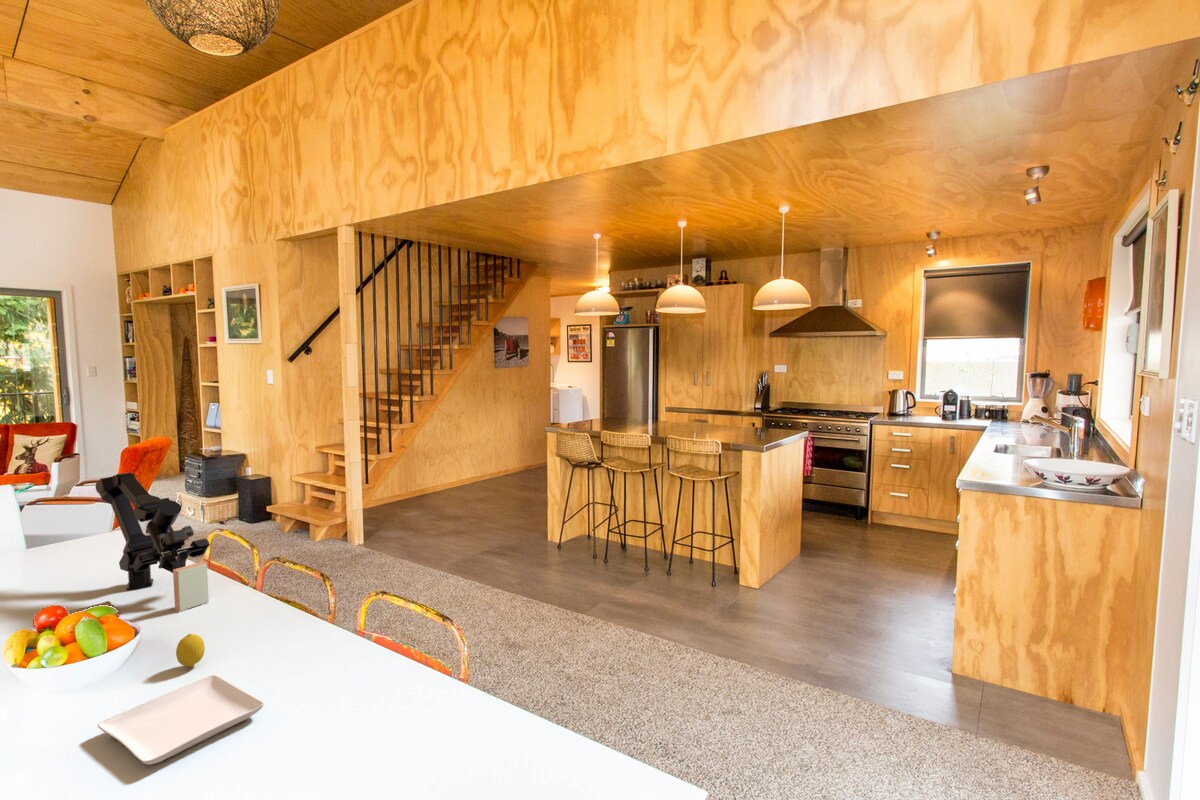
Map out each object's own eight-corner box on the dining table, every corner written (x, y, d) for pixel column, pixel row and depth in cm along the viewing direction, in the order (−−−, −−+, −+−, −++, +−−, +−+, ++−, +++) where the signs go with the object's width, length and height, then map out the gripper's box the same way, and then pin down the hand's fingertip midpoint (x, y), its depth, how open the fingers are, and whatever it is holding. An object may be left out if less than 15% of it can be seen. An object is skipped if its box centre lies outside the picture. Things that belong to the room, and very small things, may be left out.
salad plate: (145, 780, 104) (144, 761, 104) (95, 739, 116) (94, 721, 115) (267, 718, 122) (267, 701, 122) (214, 688, 134) (213, 673, 133)
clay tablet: (121, 616, 171) (120, 607, 171) (75, 630, 163) (74, 620, 163) (103, 605, 179) (103, 596, 179) (59, 617, 171) (58, 607, 171)
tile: (175, 610, 174) (173, 569, 173) (204, 600, 181) (202, 561, 180) (179, 612, 173) (177, 571, 172) (209, 602, 180) (207, 562, 179)
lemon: (210, 664, 143) (209, 631, 143) (186, 675, 138) (184, 641, 138) (196, 659, 146) (194, 626, 145) (171, 670, 141) (169, 636, 140)
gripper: (135, 527, 172) (156, 571, 167) (205, 512, 188) (226, 552, 183) (123, 549, 177) (144, 593, 172) (193, 533, 193) (213, 573, 188)
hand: (183, 577), depth 179 cm, fingers closed
